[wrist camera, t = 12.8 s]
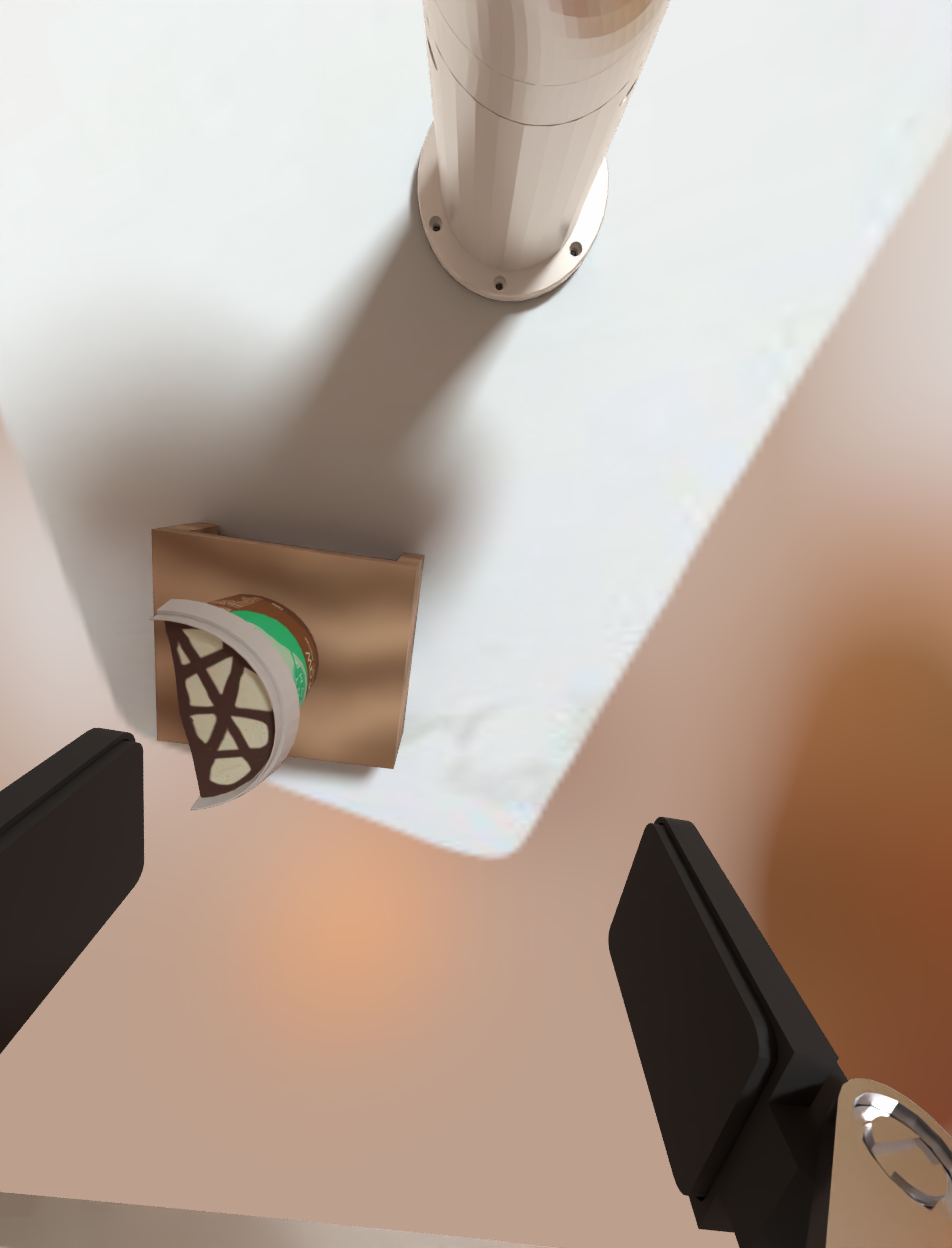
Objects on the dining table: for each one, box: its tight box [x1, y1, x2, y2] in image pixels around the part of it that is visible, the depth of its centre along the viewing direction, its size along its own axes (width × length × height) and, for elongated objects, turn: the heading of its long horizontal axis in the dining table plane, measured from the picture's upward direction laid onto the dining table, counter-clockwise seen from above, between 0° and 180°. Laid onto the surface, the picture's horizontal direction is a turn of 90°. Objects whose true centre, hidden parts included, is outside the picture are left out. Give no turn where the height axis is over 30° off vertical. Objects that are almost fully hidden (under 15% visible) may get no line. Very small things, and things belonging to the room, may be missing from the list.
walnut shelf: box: [152, 523, 424, 769], centre depth 39 cm, size 16×18×6 cm
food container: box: [150, 594, 319, 810], centre depth 32 cm, size 12×6×10 cm, turn 2°
